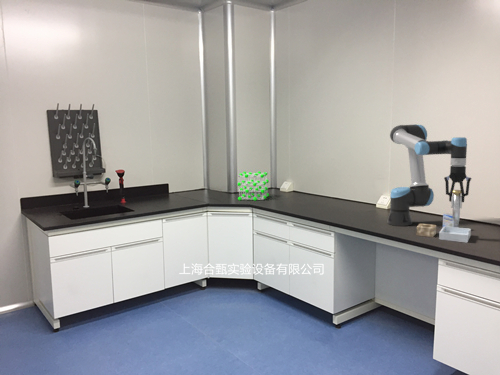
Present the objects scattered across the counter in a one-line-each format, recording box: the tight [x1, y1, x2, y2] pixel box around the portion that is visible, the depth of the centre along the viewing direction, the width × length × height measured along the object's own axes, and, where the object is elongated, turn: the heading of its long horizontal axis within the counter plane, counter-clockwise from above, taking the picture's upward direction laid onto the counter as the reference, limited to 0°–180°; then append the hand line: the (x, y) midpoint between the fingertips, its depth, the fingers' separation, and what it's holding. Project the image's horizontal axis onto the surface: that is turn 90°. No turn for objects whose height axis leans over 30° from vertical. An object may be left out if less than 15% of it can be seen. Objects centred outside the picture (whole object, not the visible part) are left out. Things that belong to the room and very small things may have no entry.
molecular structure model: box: [237, 171, 270, 201], centre depth 371 cm, size 24×25×24 cm
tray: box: [438, 226, 472, 243], centre depth 226 cm, size 14×16×4 cm
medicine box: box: [442, 213, 460, 228], centre depth 245 cm, size 8×4×9 cm, turn 24°
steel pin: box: [452, 189, 462, 221], centre depth 223 cm, size 5×5×16 cm
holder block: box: [416, 223, 437, 238], centre depth 234 cm, size 9×9×5 cm
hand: (456, 207), depth 224 cm, fingers closed on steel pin, 3 cm apart
